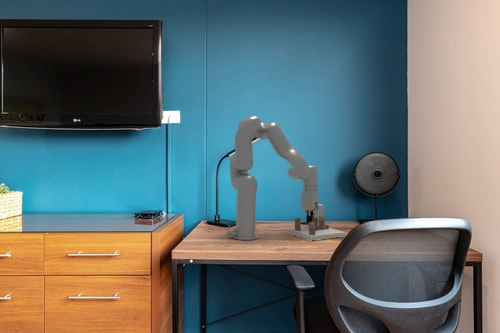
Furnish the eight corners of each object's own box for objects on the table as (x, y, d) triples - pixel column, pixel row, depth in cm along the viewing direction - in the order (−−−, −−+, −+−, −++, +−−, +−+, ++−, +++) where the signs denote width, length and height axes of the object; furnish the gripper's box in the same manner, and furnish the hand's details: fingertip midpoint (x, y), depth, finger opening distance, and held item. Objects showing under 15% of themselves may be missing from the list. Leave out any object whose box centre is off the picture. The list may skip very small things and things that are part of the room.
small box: (307, 224, 206) (308, 203, 206) (317, 224, 208) (317, 203, 208) (314, 227, 198) (314, 205, 198) (323, 227, 200) (324, 204, 200)
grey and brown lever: (326, 227, 185) (326, 216, 184) (330, 228, 182) (330, 217, 182) (310, 229, 180) (310, 217, 179) (314, 230, 177) (314, 218, 177)
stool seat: (311, 241, 164) (311, 223, 164) (289, 233, 180) (289, 217, 180) (345, 237, 175) (345, 220, 174) (322, 230, 190) (322, 215, 190)
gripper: (296, 187, 187) (295, 221, 188) (313, 190, 174) (312, 226, 175) (307, 187, 191) (306, 220, 191) (325, 189, 178) (324, 224, 178)
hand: (309, 222), depth 183 cm, fingers closed
